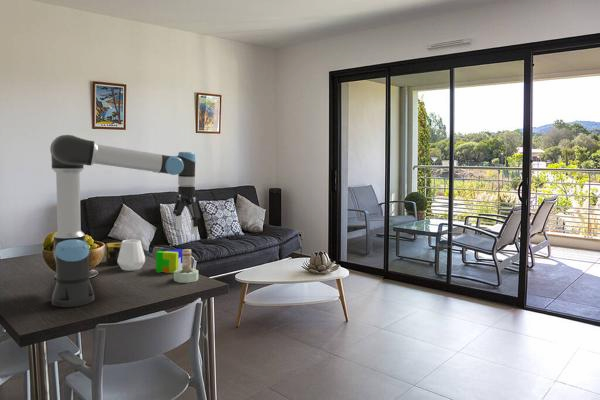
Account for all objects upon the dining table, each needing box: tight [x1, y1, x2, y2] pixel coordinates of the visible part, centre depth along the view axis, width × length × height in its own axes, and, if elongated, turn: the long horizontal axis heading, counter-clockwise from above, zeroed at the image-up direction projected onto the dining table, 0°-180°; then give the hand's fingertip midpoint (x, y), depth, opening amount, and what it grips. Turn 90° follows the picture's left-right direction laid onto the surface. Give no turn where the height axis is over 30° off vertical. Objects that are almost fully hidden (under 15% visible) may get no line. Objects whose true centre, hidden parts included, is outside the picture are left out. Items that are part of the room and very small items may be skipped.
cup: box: [117, 239, 146, 272], centre depth 239 cm, size 13×13×14 cm
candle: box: [105, 242, 122, 267], centre depth 250 cm, size 10×10×10 cm
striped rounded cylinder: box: [182, 248, 192, 273], centre depth 222 cm, size 4×4×14 cm
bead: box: [173, 268, 199, 284], centre depth 222 cm, size 10×10×4 cm
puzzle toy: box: [155, 247, 184, 274], centre depth 238 cm, size 10×10×10 cm
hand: (186, 231), depth 220 cm, fingers open, 13 cm apart
